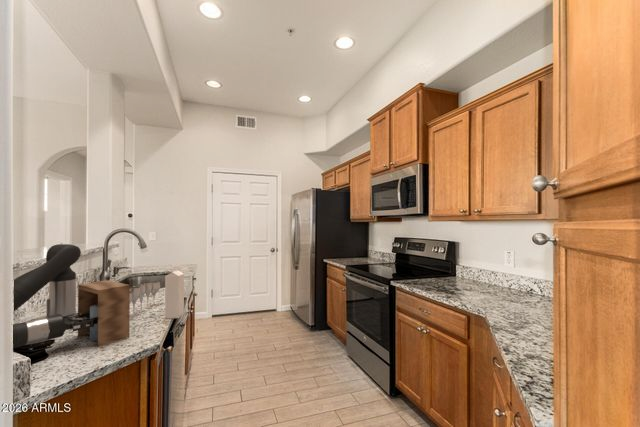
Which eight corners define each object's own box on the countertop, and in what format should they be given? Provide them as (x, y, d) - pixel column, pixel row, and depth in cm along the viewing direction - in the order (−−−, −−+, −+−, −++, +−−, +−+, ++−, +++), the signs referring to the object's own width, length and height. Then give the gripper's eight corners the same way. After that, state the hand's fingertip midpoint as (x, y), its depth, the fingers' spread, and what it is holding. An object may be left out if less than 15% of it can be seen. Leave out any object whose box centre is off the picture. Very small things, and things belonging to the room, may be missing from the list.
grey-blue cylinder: (86, 341, 109) (87, 308, 109) (93, 335, 115) (93, 304, 115) (106, 339, 111) (106, 306, 111) (111, 333, 117) (112, 302, 117)
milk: (184, 314, 141) (184, 266, 141) (178, 318, 135) (179, 268, 135) (170, 314, 140) (171, 266, 141) (164, 318, 134) (165, 268, 135)
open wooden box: (98, 346, 105) (98, 290, 105) (77, 336, 115) (78, 284, 115) (129, 337, 113) (129, 284, 113) (107, 328, 123) (107, 280, 123)
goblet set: (129, 321, 131) (129, 291, 131) (115, 322, 131) (116, 291, 131) (162, 304, 159) (162, 278, 159) (151, 304, 159) (151, 278, 159)
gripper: (36, 336, 103) (92, 322, 117) (50, 345, 95) (109, 329, 109) (37, 314, 103) (92, 303, 117) (51, 321, 96) (109, 308, 109)
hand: (100, 316), depth 113 cm, fingers open, 8 cm apart
